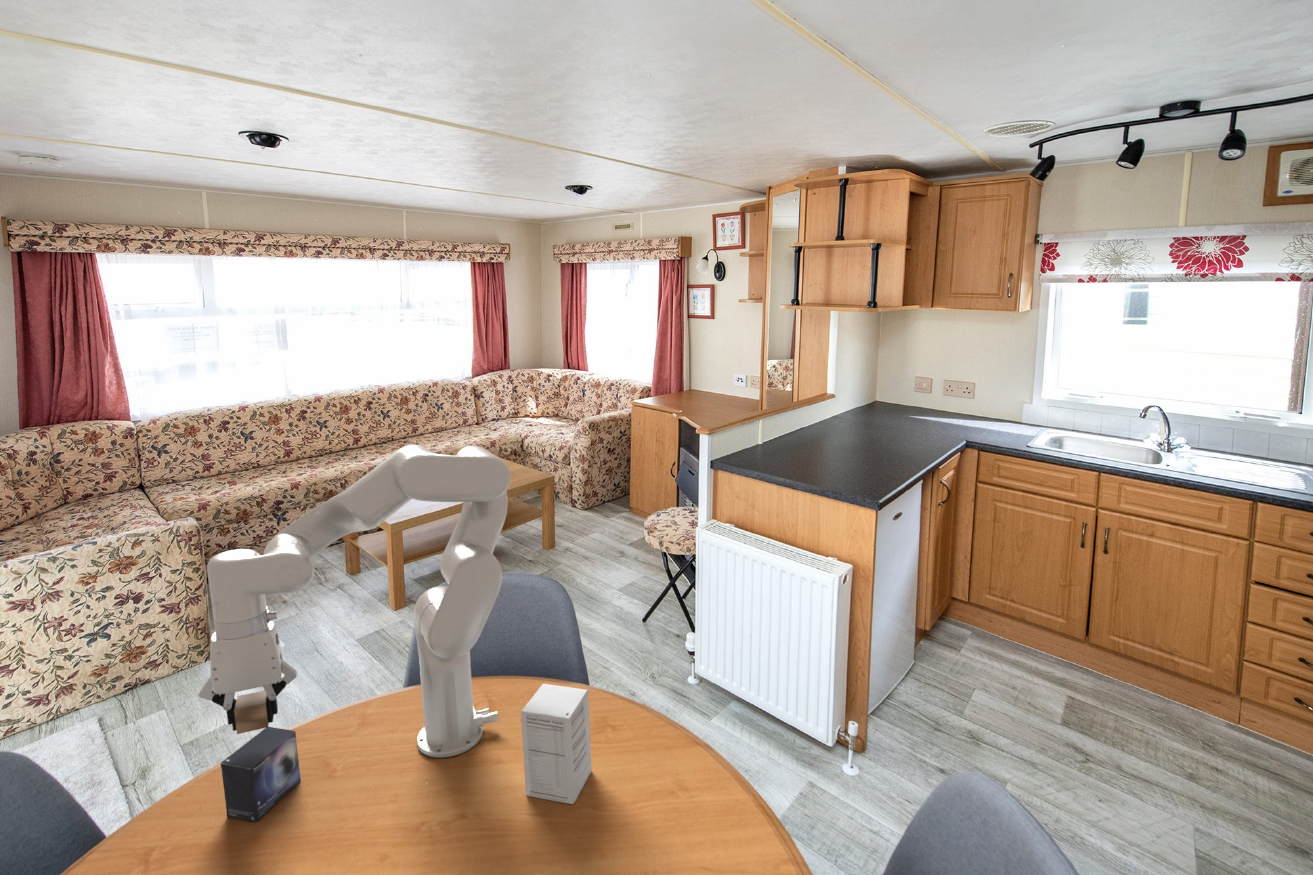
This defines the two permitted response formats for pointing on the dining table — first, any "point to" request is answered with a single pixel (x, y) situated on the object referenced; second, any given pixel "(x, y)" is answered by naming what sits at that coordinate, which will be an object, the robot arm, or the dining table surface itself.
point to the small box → (260, 773)
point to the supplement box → (556, 743)
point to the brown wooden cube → (251, 712)
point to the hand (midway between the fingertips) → (254, 721)
